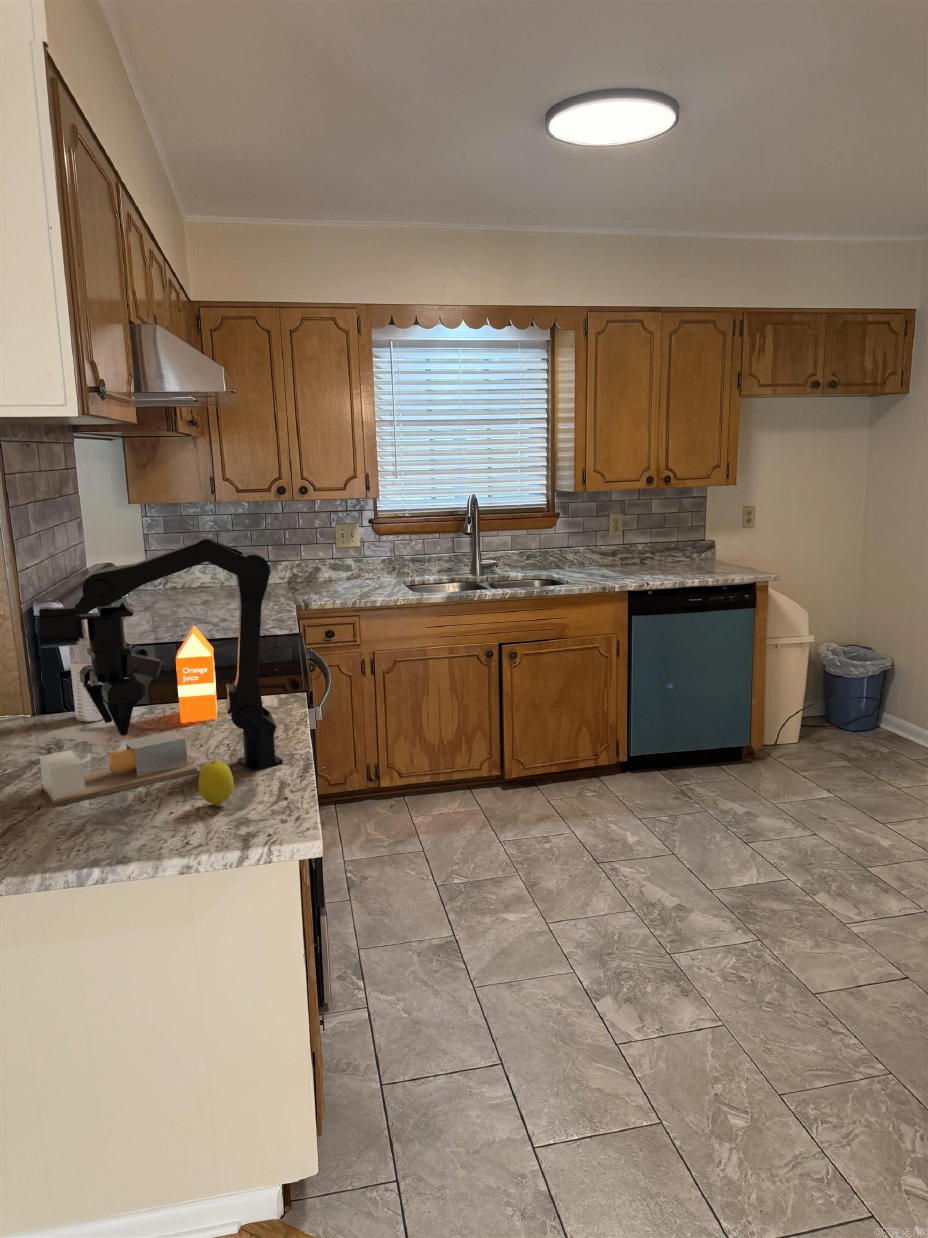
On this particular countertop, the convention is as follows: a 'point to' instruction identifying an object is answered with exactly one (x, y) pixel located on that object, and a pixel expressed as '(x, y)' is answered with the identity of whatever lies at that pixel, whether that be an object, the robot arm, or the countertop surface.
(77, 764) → the white socket
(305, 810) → the countertop surface
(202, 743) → the countertop surface
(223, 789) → the lemon
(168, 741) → the steel sleeve
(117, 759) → the orange tube
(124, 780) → the walnut board
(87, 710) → the water bottle
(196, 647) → the orange juice
